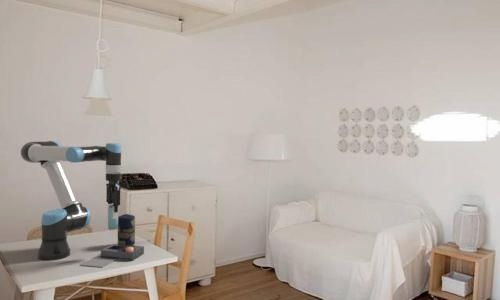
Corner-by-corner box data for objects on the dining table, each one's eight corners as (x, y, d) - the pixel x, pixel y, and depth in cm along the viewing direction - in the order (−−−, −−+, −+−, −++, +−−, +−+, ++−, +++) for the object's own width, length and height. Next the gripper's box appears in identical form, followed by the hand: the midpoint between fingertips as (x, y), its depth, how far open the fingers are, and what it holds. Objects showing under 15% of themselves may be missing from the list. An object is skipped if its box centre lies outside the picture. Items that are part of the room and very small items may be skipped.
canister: (129, 248, 226) (129, 216, 225) (114, 246, 228) (114, 215, 227) (137, 243, 235) (138, 213, 235) (123, 242, 237) (123, 212, 236)
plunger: (124, 256, 208) (124, 248, 208) (128, 254, 212) (128, 246, 212) (131, 257, 207) (131, 249, 207) (135, 254, 211) (135, 247, 211)
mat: (80, 265, 196) (80, 264, 196) (94, 257, 208) (94, 257, 208) (102, 267, 194) (102, 266, 194) (115, 259, 206) (115, 259, 206)
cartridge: (110, 229, 207) (110, 206, 207) (106, 227, 211) (106, 205, 211) (119, 228, 211) (119, 205, 210) (115, 226, 214) (116, 204, 214)
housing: (100, 257, 208) (100, 250, 208) (113, 251, 220) (113, 243, 220) (132, 260, 205) (132, 253, 204) (143, 253, 216) (143, 246, 216)
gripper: (127, 174, 205) (127, 219, 206) (113, 170, 219) (113, 213, 220) (113, 175, 200) (112, 221, 201) (99, 171, 214) (99, 215, 215)
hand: (113, 217), depth 211 cm, fingers closed on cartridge, 5 cm apart
